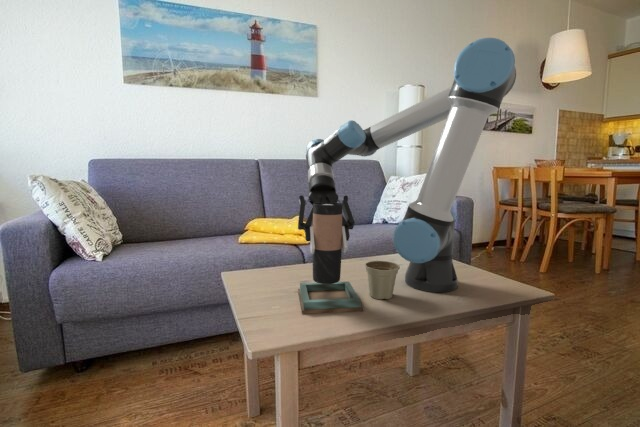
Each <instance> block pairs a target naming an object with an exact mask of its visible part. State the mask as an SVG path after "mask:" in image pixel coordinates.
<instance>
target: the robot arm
mask: <svg viewBox="0 0 640 427" xmlns="http://www.w3.org/2000/svg"><path fill="white" fill-rule="evenodd" d="M516 69H517V68H516V56H515V53H514V51H513V49H512V48H511V47H510V46H509V44H507V42H505V41H504V40H502V39H499V38H497V37H483V38H479V39H475V41H472V42H471V43H469V44H467V45H466V46H465V47H464V48H463V49H462V50H461V51H460V52H459V54H458V56H457V57H456V59H455V62H454V64H453V78H454V79H453V82H452V83H451V86H449V87H448V88H446V89H443V90H442V91H439V92H437V93H435V94H433V95H432V96H429V97H427V98H425V99H423V100H421V101H419V102H418V103H416V104H413V105H411V106H409V107H408V108H405V109H404V110H401V111H399V112H398V113H395V114H393V115H391V116H389V117H387V118H384V119H383V120H381V121H379V122H377V123H374V124H373V125H371V126H369V127H366V128H364V129H363V128H362V127H361V126H362V125H360V124H359V123H357V122H356V121H355V120H348V121H347V122H346V123H344V124H342V125H340V126H339V127H338V128H337V129H336V130H335V131H333V132H332V133H331V134H330V135H329V136H327V137H326V138H325V139H321V138H316V139H314V140H310V141H309V143H308V144H307V145H306V152H305V153H306V154H305V159H306V166H307V177H308V178H307V179H308V180H307V182H308V191H309V192H308V196H304V195H299V197H298V198H299V199H298V204H299V213H298V214H299V215H298V220H297V221H298V224H297V229H298V230H299V231H304V235H305V242H309V246H310V247H309V248H310V255H312V254H314V250H315V245H314V232H313V207H312V208H311V210H310V213H309V215H308V217H307V219H306V222H304V219H305V208H306V205H307V204H308V202H309V203H310V204H311V205H312V206H313V203H317V202H321V203H322V204H329V203H331V202H336V203H342V213H343V214H342V254H346V253H347V251H348V242H349V240H350V230H353V229H354V226H355V223H356V222H355V220H354V216H353V213H352V210H351V208H350V205H349V196H348V195H343V196H339V195H338V193H337V190H336V183H335V175H334V171H333V165H334V164H335V163H337V162H338V161H340V160H341V159H343V158H344V157H346V156H349V155H350V156H359V157H369V156H373V155H374V154H375V153H376V152H377V151H379V150H380V149H382V148H385V147H386V146H388V145H391V144H394V143H395V142H398V141H400V140H402V139H405V138H406V137H410V136H411V135H413V134H416V133H418V132H420V131H422V130H424V129H427V128H429V127H432V126H434V125H436V124H438V123H441V122H442V121H443V122H444V120H445V123H444V126H443V128H442V131H441V133H440V137H439V139H438V143H437V145H436V147H435V150H434V153H433V156H432V157H431V161H430V163H429V167H428V169H427V171H426V174H425V177H424V180H423V183H422V185H421V188H420V191H419V193H418V196H417V199H415V200H414V201H413V202H409V204H408V206H407V209H406V212H405V214H404V217H403V219H402V220H401V221H400V222H399V224H397V226H396V227H395V229H394V231H393V236H392V242H393V246H394V248H395V251H396V252H397V253H398V255H399V256H400V257H401V258H403V259H404V260H405V261H407V262H409V264H408V266H407V269H406V271H405V275H404V283H405V284H406V285H408V286H409V287H411V288H414V289H416V290H420V291H425V292H430V293H431V292H433V293H447V292H452V291H454V290H457V289H458V280H459V279H458V276H457V273H456V270H455V269H456V268H455V266H454V260H453V259H454V256H453V255H454V241H455V240H454V239H455V225H456V213H455V212H454V210H452V207H453V205H454V203H455V200H456V197H457V195H458V192H459V189H460V188H461V186H462V185H461V184H462V183H463V180H464V178H465V175H466V173H467V170H468V168H469V166H470V163H471V160H472V157H473V155H474V152H475V151H476V148H477V145H478V142H479V140H480V137H481V135H482V133H483V130H484V128H485V125H486V123H487V120H488V118H489V116H491V115H493V114H495V113H497V112H498V111H499V109H500V107H501V105H502V102H503V100H504V98H505V97H506V96H507V95H509V93H510V92H511V90H512V89H513V87H514V85H515V83H516V78H517V70H516ZM343 215H344V216H343Z"/></svg>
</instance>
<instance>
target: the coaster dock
mask: <svg viewBox="0 0 640 427" xmlns="http://www.w3.org/2000/svg"><path fill="white" fill-rule="evenodd" d="M297 293H298V300H299V305H300V306H299V307H300V311H301V314H302V315H304V314H305V315H306V314H328V313H329V314H330V313H350V312H364V307H363V305H362V300H361V298H360V296H359V295H358V293H357V292H356V290H355V289H354V287H353V285H352V284H351V282H350V281H339V282H337V283H333V284H321V283H317V282H300V283H299V288H297Z"/></svg>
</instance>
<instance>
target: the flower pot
mask: <svg viewBox="0 0 640 427" xmlns="http://www.w3.org/2000/svg"><path fill="white" fill-rule="evenodd" d="M364 266H365V269H366V272H367V282H368V294H369V295H370V297H371V298H373V299H378V300H384V299H386V300H389V299H391V298H392V297H393V294H394V291H395V290H394V289H395V284H396V278H397V275H398V273H399V270H400V269H401V266H400V264H399V263H395V262H393V261H389V260H388V261H385V260H370V261H367V262H365V263H364Z"/></svg>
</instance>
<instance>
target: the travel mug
mask: <svg viewBox="0 0 640 427" xmlns="http://www.w3.org/2000/svg"><path fill="white" fill-rule="evenodd" d="M312 208H313V223H312V226H313V232H314V245H315V250H314V254H311V255H312V257H311V258H312V280H313V282H314V283H321V284H333V283H337V282H341V281H340V280H341V271H342V270H341V269H342V255H343V250H342V215H343V209H342V203H340V202H337V203H336V202H331V203H329V204H322V203H321V202H317V203H313V205H312Z"/></svg>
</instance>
